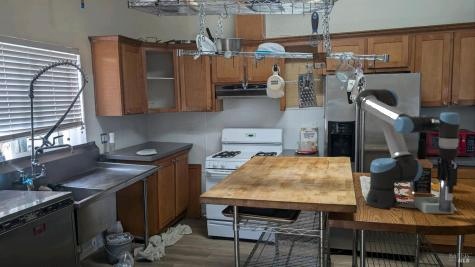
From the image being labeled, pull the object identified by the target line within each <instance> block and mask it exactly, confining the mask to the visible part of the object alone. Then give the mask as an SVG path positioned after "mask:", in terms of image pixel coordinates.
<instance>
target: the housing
mask: <svg viewBox="0 0 475 267" xmlns="http://www.w3.org/2000/svg"><path fill="white" fill-rule="evenodd" d="M412 199H413V198H412ZM412 202H413V203H412V205H413V206H414V207H416V208H417V209H419V211H421V212H422V213H424V214H427V215H428V214H440V215H441V214H443V215H444V214H446V215H447V214H455V205H454V204H453V203H452V209H451V212H442V211H440V210H439V196H432V197H414V199H413V201H412Z"/></svg>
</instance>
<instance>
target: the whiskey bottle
mask: <svg viewBox="0 0 475 267" xmlns="http://www.w3.org/2000/svg"><path fill="white" fill-rule="evenodd" d="M417 146H418V147H417V151H416V158H414V159H416V160H418V161H420V163H421V165H422V174H421V177H420V178H419V179H418V180H417V181H414V182H410V183H409V188H408V197H410V198H411V199H414V197H433V194H432V189H431V185H432V174H433V173H432V171H433V170H432V169H433V168H434V167H433V166H434V165H433V163H432V162H431V161H429V159H427V140H426V139H418V143H417Z"/></svg>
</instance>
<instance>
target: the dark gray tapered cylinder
mask: <svg viewBox="0 0 475 267" xmlns="http://www.w3.org/2000/svg"><path fill="white" fill-rule="evenodd" d="M446 185H447V179H440V194H439V193H438V197H439V210H440V211H442V212H451V209H452V204H453V199H452V200H445V196H446Z"/></svg>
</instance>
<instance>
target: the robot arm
mask: <svg viewBox="0 0 475 267" xmlns="http://www.w3.org/2000/svg"><path fill="white" fill-rule="evenodd" d="M355 103H356V106H357V108H358V109H359V110H360V111H362V112H364V113H366V114H367V113H369V114H372V115H373V116H375V117H377V118H378V119H379V122H380V126H381V129H382V132H383V134H384V138H385V141H386V144H387V147H388V150H389V153H390V156H391V157H388V158H387V157H385V158H384V157H381V158H375V159H374V160H372V162H371V164H370V169H369V170H370V171H369V172H370V175H369V177H370V180H369V182H370V183H369V190H368V193H367V195H366V199H365V203H366V204H367V205H368V206H370V207H373V208H377V209H391V208H393V207H397V206H398V198H397V195H396V191H395V184H405V183H406V184H407V183H409V184H410V182H414V181H417V180H418V179H419V178H420V177H421V174H422V165H421V163H420V161H418V160H416V159H415V158H414V155H413V153H411V152H409V151H408V147H407V144H406V140H405V138H404V135H403V134H405V135H406V134H415V133H436V134H437V133H438V150H437V152H438V154H437V155H438V156H439V157H440V158H437V159H436V160H437V171H436V172H437V173H436V180H438V182H440V179H446V176H447V185H446V196H445V200H452V201H453V199H454V197H453V196H454V187H457V185H458V182H457V181H458V169H459V163H456V161H455V158H457V157H458V156H459V154H458V153H459V148H458V147H459V142H460V140H459V138H460V136H459V135H460V124H461V122H460V120H461V117H460V114H459V113H458V112H441V113H440V115H439V116H436V115H430V114H429V115H427V114H425V115H420V116H417V115H416V116H410V115H408V114H407V113H406V112H405V113H404V112H402V111H401V110H398V109H397V108H398V104H399V96H398V94H397V93H396V92H395V90H392V89H390V88H381V89H380V88H379V89H377V88H376V89H375V88H369V89H368V88H367V89H364V90H362V91H360V92H359V93H358V94H357V96H356V98H355ZM439 194H440V185H439V191H438V195H439Z"/></svg>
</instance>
